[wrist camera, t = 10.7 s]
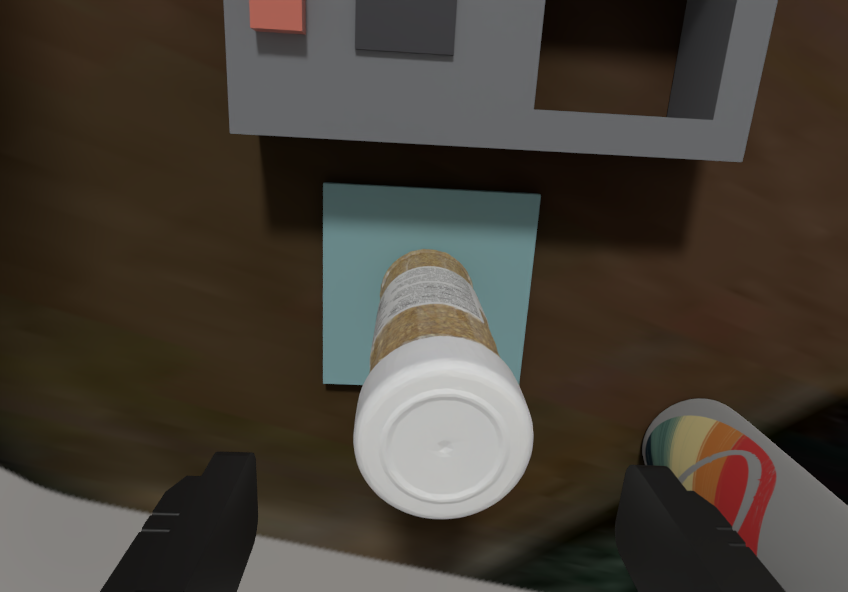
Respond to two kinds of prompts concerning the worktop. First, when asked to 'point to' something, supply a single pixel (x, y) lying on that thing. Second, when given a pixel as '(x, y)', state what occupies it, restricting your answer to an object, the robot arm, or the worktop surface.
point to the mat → (414, 230)
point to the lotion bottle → (755, 492)
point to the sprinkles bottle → (438, 397)
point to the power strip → (476, 77)
